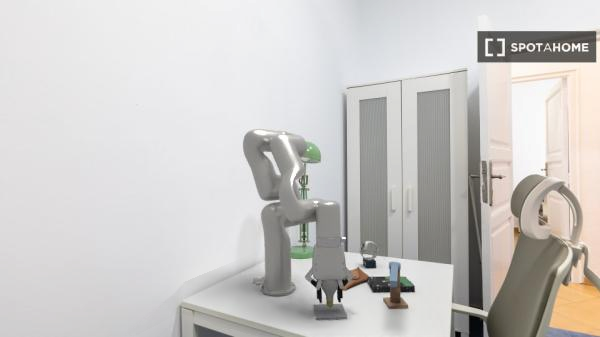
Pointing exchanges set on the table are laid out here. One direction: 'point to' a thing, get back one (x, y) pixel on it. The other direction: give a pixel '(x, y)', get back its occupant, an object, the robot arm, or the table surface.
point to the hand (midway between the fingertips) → (329, 300)
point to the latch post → (395, 297)
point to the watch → (368, 262)
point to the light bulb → (329, 290)
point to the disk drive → (384, 284)
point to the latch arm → (394, 273)
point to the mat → (329, 312)
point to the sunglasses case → (356, 278)
